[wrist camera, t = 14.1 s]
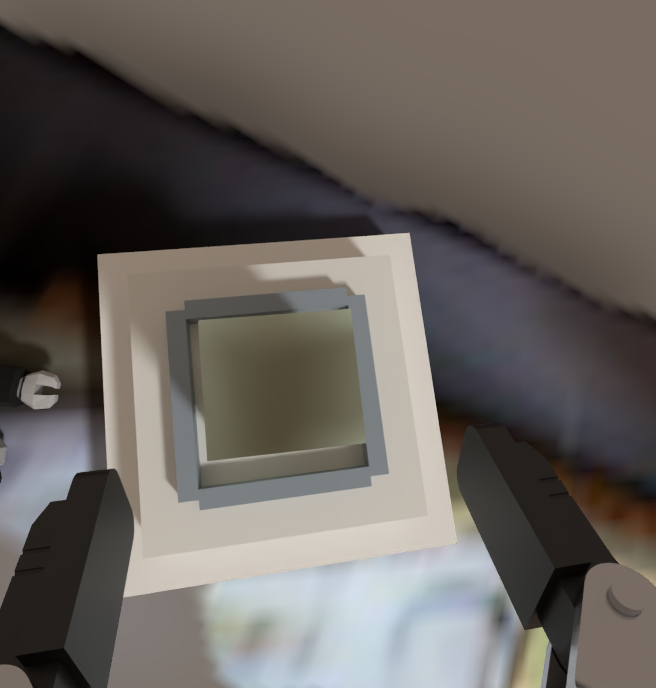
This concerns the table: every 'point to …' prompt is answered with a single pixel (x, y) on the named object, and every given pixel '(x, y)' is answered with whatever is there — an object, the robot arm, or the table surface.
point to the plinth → (287, 545)
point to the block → (280, 383)
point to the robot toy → (24, 392)
